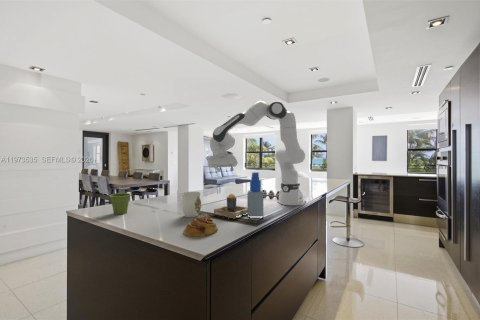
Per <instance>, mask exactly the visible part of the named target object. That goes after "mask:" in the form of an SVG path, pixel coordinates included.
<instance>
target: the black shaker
mask: <svg viewBox="0 0 480 320" xmlns="http://www.w3.org/2000/svg"><path fill="white" fill-rule="evenodd" d="M226 206H227V211H228V212H236V206H237V196H235V198H228V196H226Z"/></svg>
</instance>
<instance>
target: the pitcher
mask: <svg viewBox="0 0 480 320" xmlns="http://www.w3.org/2000/svg"><path fill="white" fill-rule="evenodd" d="M181 194H182V199H181V210H182V212H183V215H184V217H186V218H197V217H198V216H199V214H200V211H201V209H202V200H201V192H200V191H184V192H182V193H181Z"/></svg>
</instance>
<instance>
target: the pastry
mask: <svg viewBox="0 0 480 320" xmlns="http://www.w3.org/2000/svg"><path fill="white" fill-rule="evenodd" d="M216 233H218V226H217V223H216V222H214V221H213V219H212V217H211V216H210V215H209V214H208V213H204V214H203V213H202V214H200V215H197V216H196V217H194V218H193V219H192V220H191V221H189V222H188V223H187V225H186V226H185V228H184V229H183V232H182V234H183V235H184V236H187V237H191V238H202V237H205V236H210V235H214V234H216Z"/></svg>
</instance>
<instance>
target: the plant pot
mask: <svg viewBox="0 0 480 320" xmlns="http://www.w3.org/2000/svg"><path fill="white" fill-rule="evenodd" d="M131 195H132V193H128V192H125V193H124V192H121V193H113V194H112V193H111V194H109V195H108V196H109V197H110V201H111V207H112V211H113V215H118V216H119V215H124V214H127V213H128V208H129V202H130V198H131Z"/></svg>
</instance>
